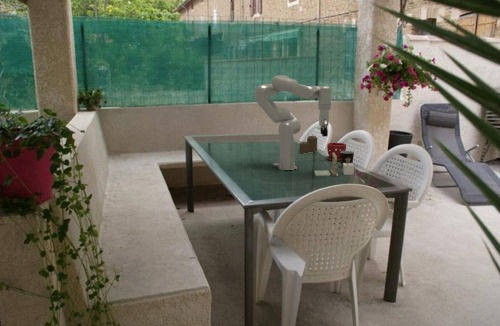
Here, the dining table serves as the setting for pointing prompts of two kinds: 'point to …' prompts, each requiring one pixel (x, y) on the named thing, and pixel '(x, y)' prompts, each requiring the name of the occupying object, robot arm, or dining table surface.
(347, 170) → the letter cube
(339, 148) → the plant pot
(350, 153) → the coffee mug
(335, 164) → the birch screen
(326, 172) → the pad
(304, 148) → the brown stepped block
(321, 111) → the robot arm
